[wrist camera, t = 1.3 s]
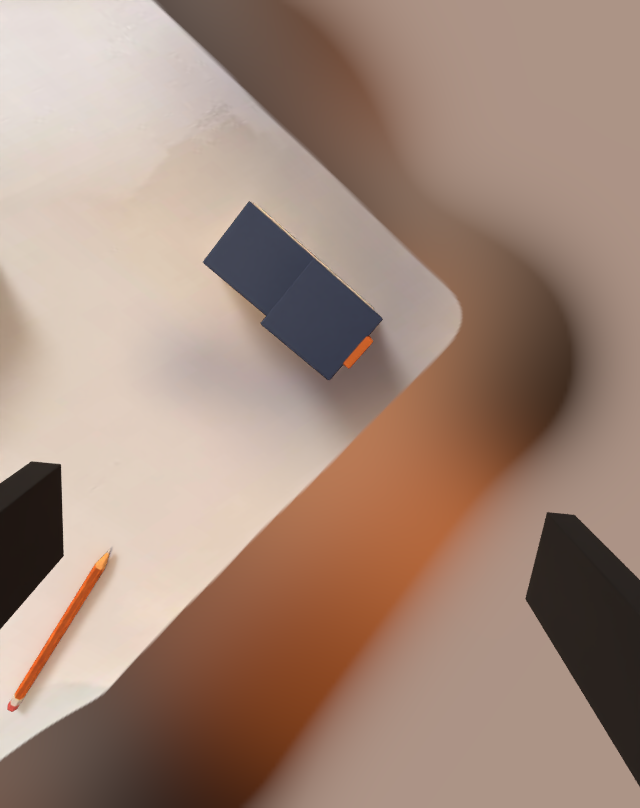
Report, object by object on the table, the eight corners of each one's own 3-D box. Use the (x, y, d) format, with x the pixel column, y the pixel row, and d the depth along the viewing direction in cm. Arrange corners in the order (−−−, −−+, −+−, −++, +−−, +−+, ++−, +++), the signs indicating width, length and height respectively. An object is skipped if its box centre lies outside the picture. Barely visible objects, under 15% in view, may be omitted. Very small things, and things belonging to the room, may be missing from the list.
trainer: (374, 308, 35) (390, 322, 27) (330, 359, 36) (333, 387, 28) (256, 204, 33) (237, 187, 25) (212, 261, 34) (182, 261, 26)
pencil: (9, 702, 43) (4, 709, 43) (107, 544, 39) (103, 549, 39) (18, 706, 44) (13, 713, 43) (116, 549, 40) (113, 554, 39)
